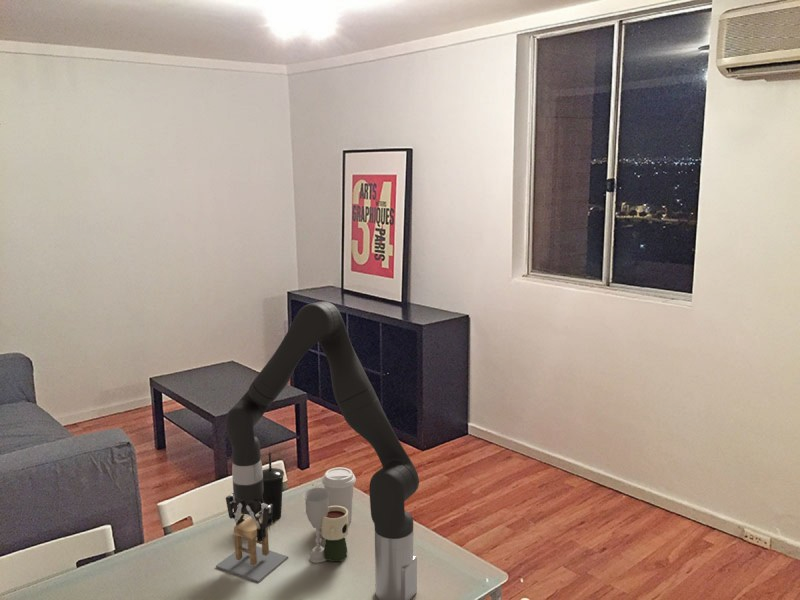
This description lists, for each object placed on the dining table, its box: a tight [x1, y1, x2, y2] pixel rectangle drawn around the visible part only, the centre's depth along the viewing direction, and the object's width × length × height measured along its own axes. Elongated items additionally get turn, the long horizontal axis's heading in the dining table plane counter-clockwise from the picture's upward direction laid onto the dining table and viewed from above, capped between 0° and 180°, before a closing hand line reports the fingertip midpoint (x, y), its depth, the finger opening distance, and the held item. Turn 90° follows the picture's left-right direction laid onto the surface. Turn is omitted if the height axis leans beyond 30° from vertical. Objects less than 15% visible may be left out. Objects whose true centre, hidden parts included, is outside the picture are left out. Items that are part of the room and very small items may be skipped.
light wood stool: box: [233, 516, 270, 565], centre depth 178 cm, size 6×6×9 cm
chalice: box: [302, 487, 330, 563], centre depth 180 cm, size 7×7×18 cm
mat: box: [215, 542, 289, 584], centre depth 180 cm, size 14×12×1 cm
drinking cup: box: [262, 452, 285, 522], centre depth 200 cm, size 8×8×20 cm
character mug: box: [320, 506, 350, 562], centre depth 181 cm, size 11×7×13 cm, turn 178°
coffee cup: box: [321, 467, 357, 525], centre depth 198 cm, size 10×10×15 cm
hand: (251, 536), depth 178 cm, fingers closed on light wood stool, 6 cm apart
